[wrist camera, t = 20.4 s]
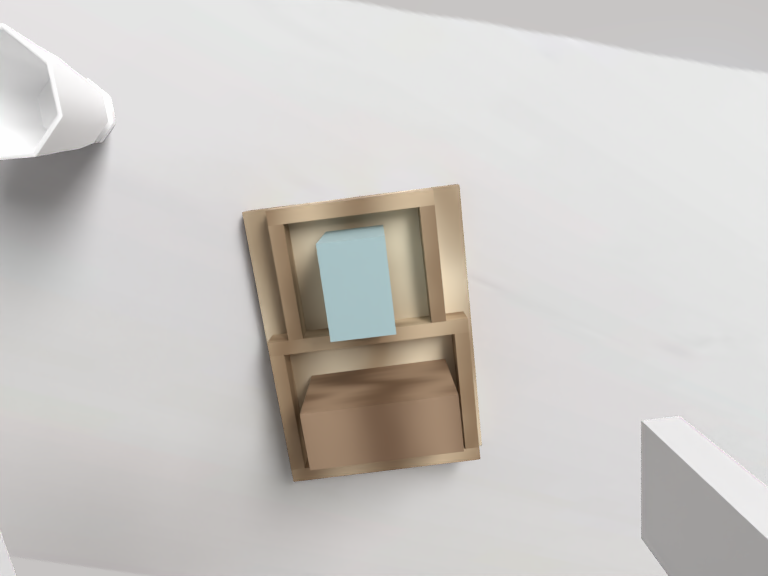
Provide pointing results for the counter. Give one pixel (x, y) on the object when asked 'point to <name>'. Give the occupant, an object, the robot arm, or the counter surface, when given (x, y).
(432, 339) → the tray
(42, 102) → the cup
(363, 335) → the pale teal block
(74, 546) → the counter surface
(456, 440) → the brown wooden block
